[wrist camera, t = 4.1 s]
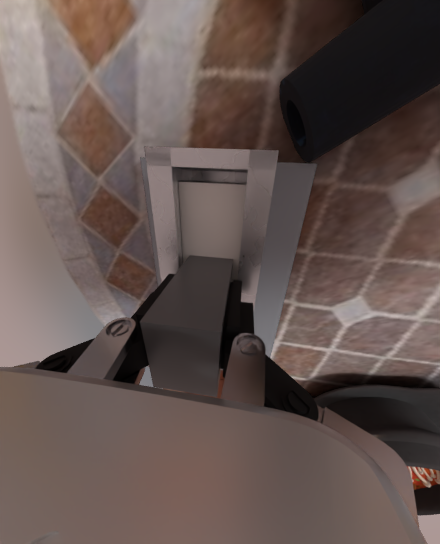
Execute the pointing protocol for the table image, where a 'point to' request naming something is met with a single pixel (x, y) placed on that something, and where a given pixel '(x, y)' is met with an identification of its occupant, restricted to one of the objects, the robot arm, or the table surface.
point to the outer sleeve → (216, 168)
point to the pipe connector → (363, 74)
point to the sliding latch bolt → (197, 290)
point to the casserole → (398, 429)
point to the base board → (269, 242)
